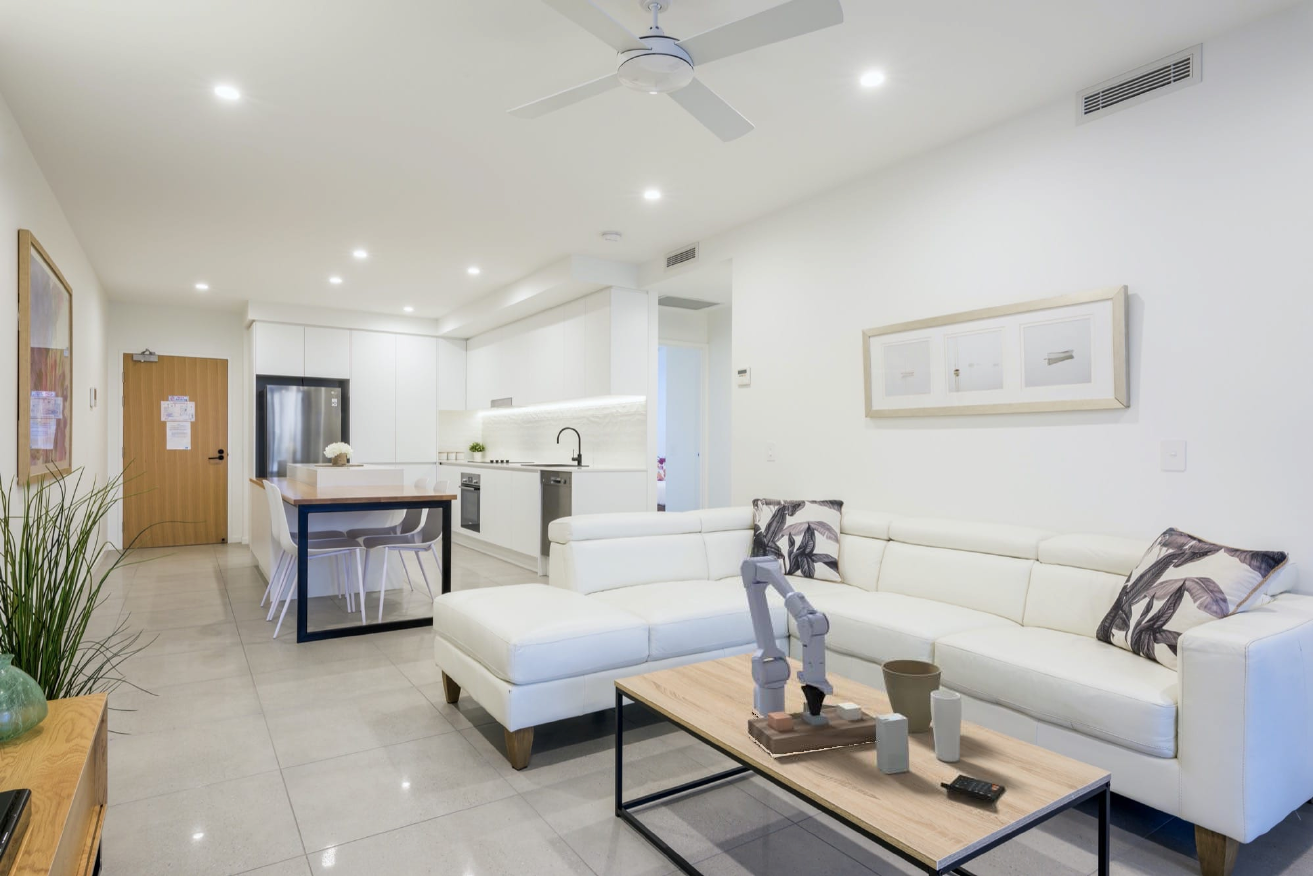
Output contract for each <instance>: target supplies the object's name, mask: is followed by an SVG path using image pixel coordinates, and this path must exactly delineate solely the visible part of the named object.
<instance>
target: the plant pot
mask: <svg viewBox="0 0 1313 876" xmlns="http://www.w3.org/2000/svg"><path fill="white" fill-rule="evenodd" d="M881 670H882V674H883V681H884V685H885V689H886V694H887V698H888V700H889V704H890V706H891V710H892V712H893V713H892V714H894V713H898V714H900V715H902V716H904V717H906V718H907V719H908V733H914V732H916V733H925V732H927V731H928V730H929V729H930V727H931V723H932V716H931V692H932V691H935V690H940V684H941V675H942V668H941V666H939V665H938V664H935V663H933V662H929V661H925V660H917V659H893V660H892V659H891V660H887V661H886V662H882V664H881Z"/></svg>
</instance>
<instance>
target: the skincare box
mask: <svg viewBox="0 0 1313 876" xmlns="http://www.w3.org/2000/svg"><path fill="white" fill-rule="evenodd" d="M875 718H876V742H875V743H876V768H878V769H879V770H880V771H881V772H882V773H884V774H886V775H891V774H899V773H905V772H910V749H909V747H910V746H909V744H910V743H909V732H908V719H907V718H906V717H904V716H902V715H900V714H898V713H887V714H880V715H879V714H877V715H875Z"/></svg>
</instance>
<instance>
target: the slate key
mask: <svg viewBox="0 0 1313 876" xmlns="http://www.w3.org/2000/svg"><path fill="white" fill-rule="evenodd" d="M805 712H806V713H803V721H805V722H806V723H808V724H809V725H811V726H815V725H822V724H827V716H826V715H824V714H822V713H821V712H820V715H817V716H812V715H810V712H807V711H805Z"/></svg>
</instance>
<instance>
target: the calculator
mask: <svg viewBox="0 0 1313 876" xmlns="http://www.w3.org/2000/svg"><path fill="white" fill-rule="evenodd" d="M940 787H941V788H943V789H944V790H947V791H951V792H954V793H957V794H961V795H964V796H966V797H967V796H968V797H971V798H975V799H978V800H980V801H981V800H982V801H985V802H988V803H991V804H994V803H995V802H996V801H997V800H998V798H1000V796H1001V795H1002V794H1003V793H1004V791H1005V790H1006V786H1005V785H1004V786H1002V785H999V784H995V783H992V782H988V781H985V780H982V779H979V778H974V777H970V776H967V775H963V774H959V775H957V777H955V779H953V780H952V781H951V782H950V783H945V782H942V781H941V782H940ZM1000 794H1001V795H1000Z"/></svg>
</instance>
